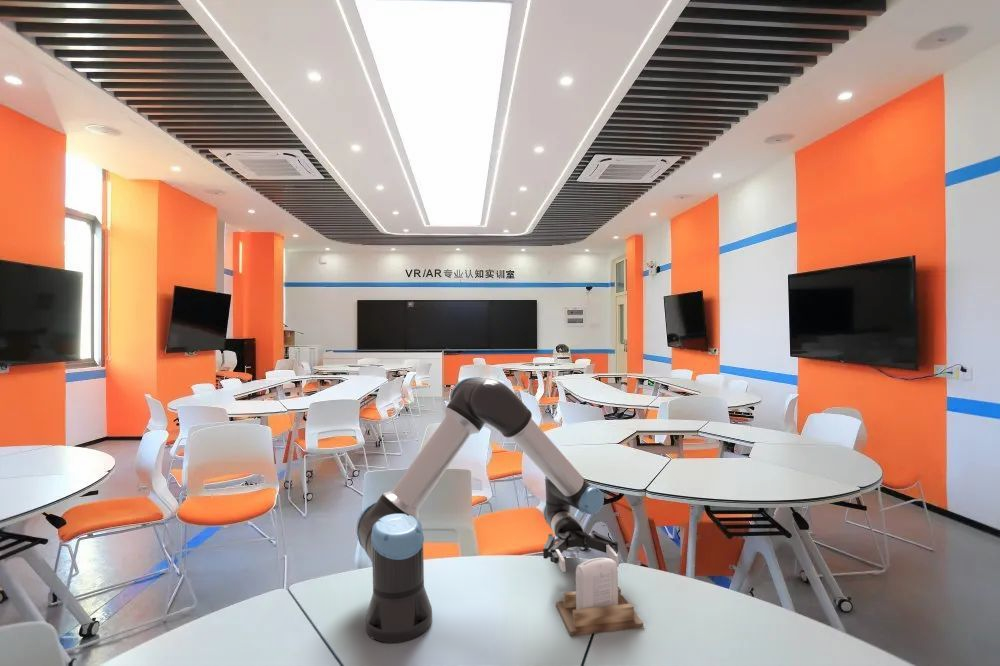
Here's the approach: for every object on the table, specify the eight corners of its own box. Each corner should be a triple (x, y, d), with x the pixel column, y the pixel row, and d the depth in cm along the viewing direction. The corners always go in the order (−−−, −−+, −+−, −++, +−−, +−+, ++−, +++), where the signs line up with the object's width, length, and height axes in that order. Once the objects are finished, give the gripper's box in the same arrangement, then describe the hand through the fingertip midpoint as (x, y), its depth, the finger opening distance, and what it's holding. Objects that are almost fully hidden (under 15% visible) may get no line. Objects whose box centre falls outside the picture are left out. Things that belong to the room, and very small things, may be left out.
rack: (570, 636, 107) (569, 617, 107) (556, 606, 119) (555, 589, 119) (643, 627, 109) (643, 609, 109) (622, 599, 121) (621, 583, 121)
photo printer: (611, 602, 118) (610, 551, 118) (621, 612, 114) (620, 559, 114) (573, 611, 114) (572, 559, 114) (582, 622, 110) (581, 567, 110)
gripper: (608, 539, 143) (639, 574, 122) (524, 546, 139) (541, 583, 118) (607, 513, 143) (638, 544, 122) (524, 520, 139) (540, 552, 118)
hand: (590, 563), depth 120 cm, fingers open, 13 cm apart
